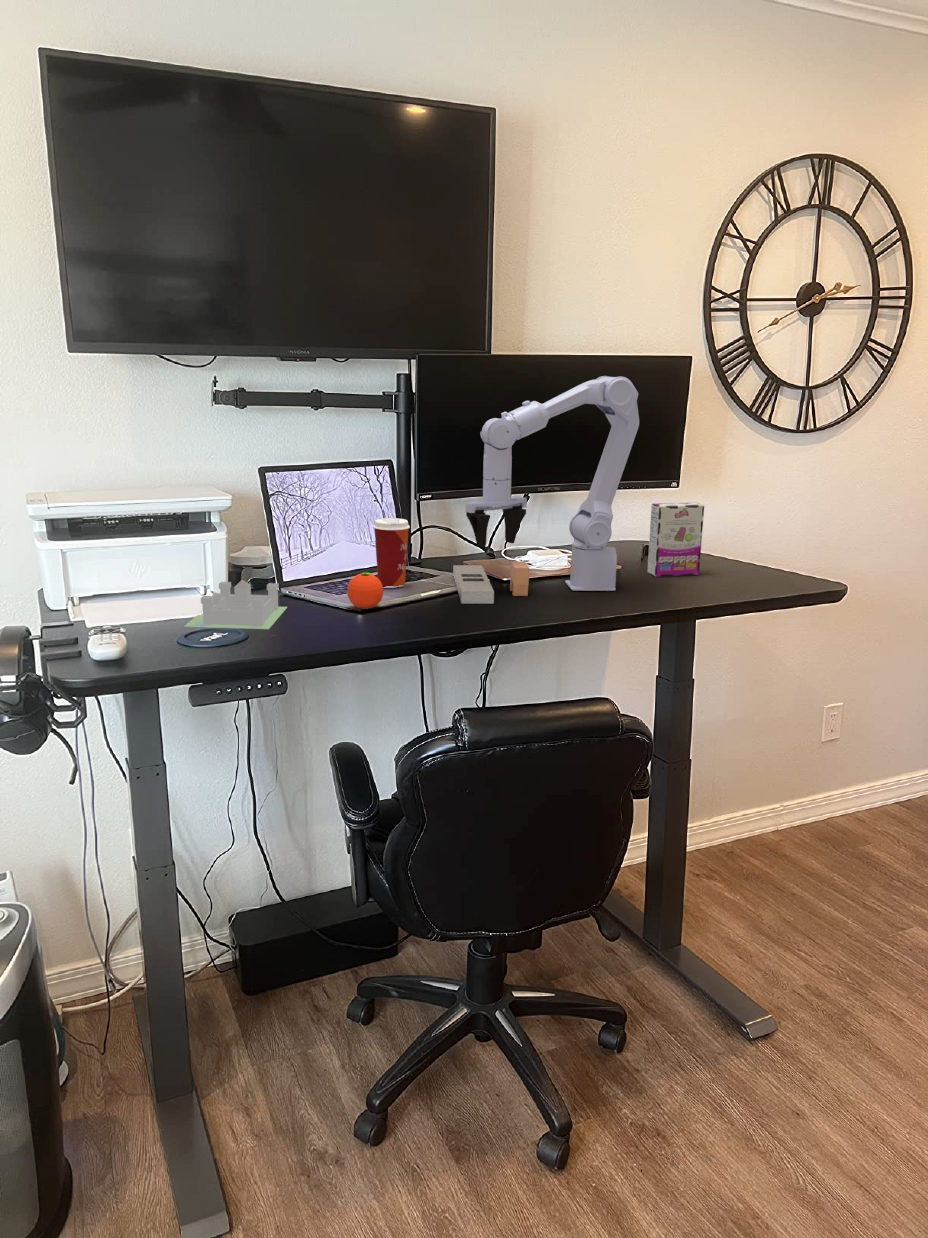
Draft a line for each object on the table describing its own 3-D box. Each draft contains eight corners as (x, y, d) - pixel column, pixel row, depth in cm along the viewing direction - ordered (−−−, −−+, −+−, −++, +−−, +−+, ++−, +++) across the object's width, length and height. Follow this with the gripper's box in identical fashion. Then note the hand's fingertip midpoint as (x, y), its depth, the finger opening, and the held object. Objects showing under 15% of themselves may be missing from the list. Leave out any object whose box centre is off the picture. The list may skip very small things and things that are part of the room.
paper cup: (412, 589, 188) (413, 523, 184) (376, 590, 186) (375, 523, 182) (406, 580, 195) (406, 517, 191) (370, 582, 193) (370, 517, 189)
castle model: (268, 631, 157) (267, 590, 155) (184, 629, 158) (181, 588, 156) (287, 609, 172) (286, 571, 170) (210, 607, 172) (207, 569, 170)
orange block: (523, 589, 190) (524, 561, 188) (528, 596, 184) (529, 568, 182) (509, 589, 190) (510, 561, 188) (513, 596, 184) (514, 568, 182)
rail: (481, 576, 201) (481, 565, 200) (493, 603, 178) (494, 591, 177) (453, 576, 200) (453, 565, 199) (461, 603, 177) (461, 591, 176)
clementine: (351, 601, 177) (351, 566, 175) (386, 603, 176) (386, 568, 174) (344, 612, 169) (343, 575, 167) (380, 614, 169) (380, 577, 167)
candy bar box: (689, 571, 211) (695, 501, 206) (699, 575, 206) (706, 504, 202) (645, 572, 208) (650, 502, 204) (654, 577, 204) (660, 505, 199)
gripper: (512, 474, 189) (510, 537, 193) (456, 478, 181) (456, 544, 185) (534, 478, 184) (531, 543, 188) (477, 482, 175) (476, 550, 179)
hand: (495, 544), depth 186 cm, fingers open, 7 cm apart
